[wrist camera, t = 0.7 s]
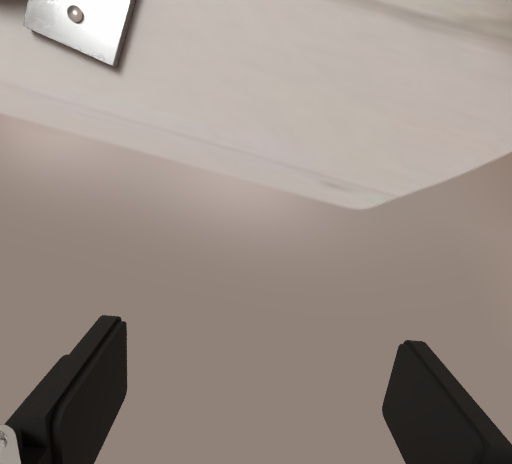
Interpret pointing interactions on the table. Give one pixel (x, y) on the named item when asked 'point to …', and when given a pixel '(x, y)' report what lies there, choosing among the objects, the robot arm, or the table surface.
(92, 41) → the ring mounting bracket
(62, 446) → the robot arm
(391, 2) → the table surface
